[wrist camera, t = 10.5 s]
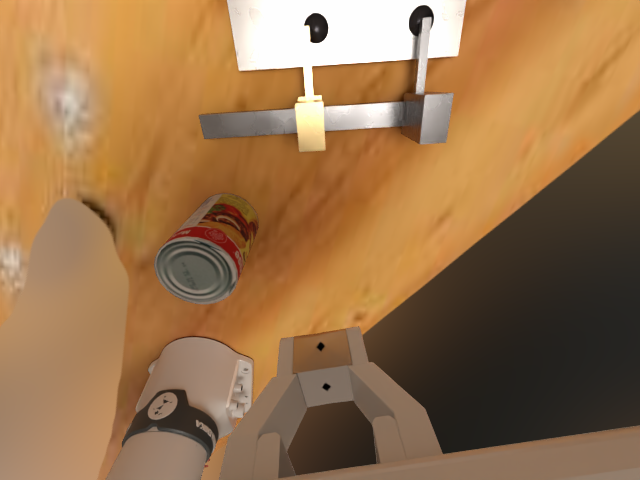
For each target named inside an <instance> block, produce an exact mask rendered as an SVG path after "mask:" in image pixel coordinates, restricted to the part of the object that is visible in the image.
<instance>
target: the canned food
mask: <svg viewBox="0 0 640 480" xmlns="http://www.w3.org/2000/svg"><path fill="white" fill-rule="evenodd" d="M257 230H258V217H257V214H256V212H255V210H254V209H253V207H252V206H251V205H250V204H249V203H248V202H247V201H246V200H244V199H242V198H241V197H239V196H236V195H233V194H226V193H222V194H216V195H214V196H211V197H209V198H208V199H207V200H206V201H205V202H204V203H203V204H202V205H201V206H200V207H199V208H198V209H197V210H196V211H195V212H194V213H193V214H192V215H191V216H190V217H189V218H188V220H187V221H186V222H185V223H184V224H183V225H182V226H181V227H180V228H179V229H178V230H177V231H176V232H175V233H174V234H173V235H172V236H171V238H170V239H169V240H168V241H167V242H166V243H165V244H164V245H163V246H162V247H161V248H160V249H159V251H158V253H157V255H156V257H155V263H154V267H155V272H156V275H157V277H158V279H159V281H160V283H161V284H162V285H163V286H164V287H165V288H166V290H167V291H169V292H170V293H172V294H173V295H174V296H176V297H178V298H180V299H182V300H184V301H187V302H191V303H195V304H211V303H216V302H219V301H221V300H224V299H225V298H227V297H228V296H229V295H231V293H232V292H233V290H234V289H235V287H236V285H237V282H238V280H239V277H240V275H241V272H242V269H243V267H244V264H245V262H246V259H247V257H248V254H249V252H250V249H251V246H252V244H253V241H254V239H255V236H256V234H257Z"/></svg>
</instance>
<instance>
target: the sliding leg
mask: <svg viewBox="0 0 640 480" xmlns="http://www.w3.org/2000/svg"><path fill="white" fill-rule="evenodd" d="M300 28H301V42H302V55H303V68H304V82H305V95H306V96H301V97H298V101H297V102H296V103H295V110H296V121H297V132H298V143H299V152H306V151H322V150H325V131H324V111H323V101H322V98H321V95H316V96H314V94H313V78H312V62H311V46H310V30H309V26H300Z"/></svg>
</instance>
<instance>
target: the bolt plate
mask: <svg viewBox="0 0 640 480" xmlns="http://www.w3.org/2000/svg"><path fill="white" fill-rule="evenodd" d="M227 3H228V9H229V15H230V20H231V26H232V32H233V38H234V44H235V50H236V56H237V62H238V68H239V71H254V70H268V69H283V68H298V67H303V55H302V42H301V28H300V26H309V30H310V46H311V62H312V66H327V65H342V64H356V63H371V62H386V61H400V60H415V59H417V48H418V36H419V25H420V19H422V18H426V17H432V21H431V30H430V40H429V49H428V59H430V58H444V57H455V56H458V51H459V45H460V38H461V31H462V25H463V18H464V11H465V4H466V0H227Z"/></svg>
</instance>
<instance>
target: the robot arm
mask: <svg viewBox="0 0 640 480" xmlns="http://www.w3.org/2000/svg"><path fill="white" fill-rule="evenodd" d="M253 368H254V362H253V360H252V359H250V358H248V357H246V356H243V355H240V354H238V353H236V352H234V351H233V350H232V349H230V348H229V347H227V346H226V345H224V344H222V343H220V342H217V341H214V340H211V339H206V338H199V337H189V338H182V339H178V340H176V341H173V342H171V343H170V344H168V345H167V346H166V347H165V348H164V349H163V351H162V353H161V355H160V357H159V358H158V359H157V360H155V361H153V362H152V363H151V364H150V366H149V369H148V372H149V373H150V377H149V379H148V381H147V383H146V385H145V388H144V390H143V392H142V394H141V396H140V399H139V401H138V403H137V405H136V412H137V414H136V416H135V417H134V419H133V421H132V423H131V424H130V426H129V427H128V429H127V431H126V435H125V437H124V439H123V441H122V449H121V451H120V453H119V455H118V457H117V459H116V461H115V463H114V464H113V466H112V468H111V470H110V472H109V474H108V476H107V478H106V480H201V476H202V472H203V469H204V467H208V465H205V463H206V462H207V461H210V459H209V458H210V456H211V454H212V452H213V451H214V449H215V446H216V443H217V441H218V439H220V438H222V437H224V436H226V435H228V434H230V433H231V432H232V431H233V430H234V431H233V432H232V433H231V435H230V436H229V437H228V441H227V446H226V450H225V455H224V459H223V464H222V468H221V473H220V477H219V480H640V426H634V427H627V428H620V429H613V430H606V431H599V432H593V433H586V434H579V435H572V436H565V437H558V438H551V439H545V440H538V441H531V442H524V443H517V444H511V445H505V446H497V447H490V448H484V449H477V450H470V451H463V452H456V453H449V454H443V453H442V451H441V448H440V446H439V444H438V441H437V438H436V436H435V433H434V431H433V428H432V426H431V423H430V421H429V418H428V415H427V413H426V410H425V408H423V407H422V406H421V405H420V404H419V403H418V402H417V401H416V400H414V399H413V398H412V397H411V396H410V395H409V394H408V393H406V391H404V390H403V389H402V388H401V387H400V386H399V385H398V384H396V383H395V382H394V381H393V380H392V379H391V378H390V377H389V376H388V375H386V374H385V373H384V372H383V371H382V370H381V369H380V368H379V367H378V366H376V365H375V364H374V363H373V362H371V363H369V362H368V358H367V354H366V350H365V346H364V342H363V338H362V334H361V330H360V328H359V326H358V327H352V328H346V329H340V330H334V331H328V332H322V333H317V334H309V335H302V336H294V337H289V338H281V340H280V345H279V356H278V367H277V377H273V378H272V379H271V380H270V382H269V383H268V384H267V386H266V387H265V389H264V390H263V391H262V393H261V394H260V395H259V397H258V398H257V399H256V401H255V402H254V403H253V405H252V398H253ZM352 400H354V402H355V404H356V405H357V406H358V407H359V409H360V410H361V411H362V412H363V414H364V415H365V416H366V418H367V419H368V420H369V421H370V423H371V424H372V425H373V432H374V441H375V449H376V458H377V464H373V465H366V466H359V467H352V468H346V469H339V470H333V471H325V472H318V473H312V474H306V475H298V476H296V475H295V472H294V469H293V467H292V464H291V462H290V459H289V457H288V454H287V450H288V447H289V445H290V443H291V441H292V439H293V437H294V435H295V433H296V431H297V429H298V426H299V425H300V422H301V420H302V418H303V416H304V414H305V412H306V410H307V408H306V407H312V406H317V405H322V404H328V403H336V402H344V401H352ZM246 412H247V413H246ZM244 413H246V414H245V416H244ZM242 417H243V418H242ZM237 418H242V420H241V421H240V423H239V424H238V425H237V427H236V428H235V425H236V421H237ZM234 428H235V429H234Z"/></svg>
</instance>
